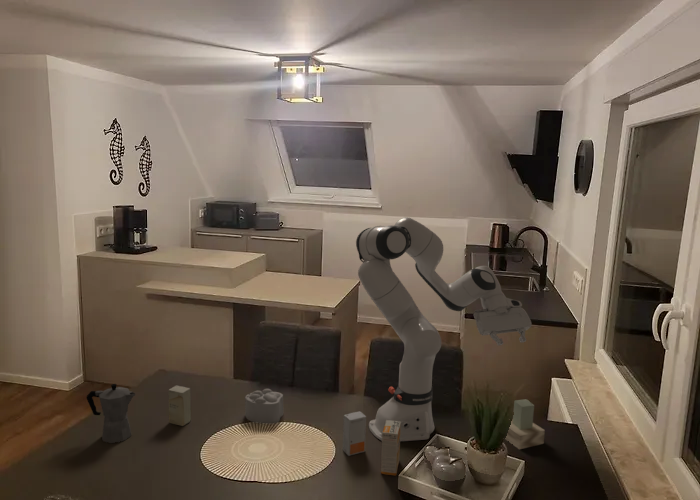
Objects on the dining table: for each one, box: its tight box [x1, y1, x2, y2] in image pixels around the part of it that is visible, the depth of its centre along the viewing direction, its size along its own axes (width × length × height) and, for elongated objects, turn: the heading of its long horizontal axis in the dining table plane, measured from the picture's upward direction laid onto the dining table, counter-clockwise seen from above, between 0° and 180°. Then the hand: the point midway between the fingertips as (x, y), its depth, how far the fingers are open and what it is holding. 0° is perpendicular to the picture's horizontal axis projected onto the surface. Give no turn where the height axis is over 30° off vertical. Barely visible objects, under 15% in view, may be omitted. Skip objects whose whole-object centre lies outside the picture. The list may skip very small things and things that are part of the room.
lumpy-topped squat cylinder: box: [244, 388, 284, 425], centre depth 189 cm, size 10×13×9 cm
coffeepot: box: [86, 383, 136, 444], centre depth 173 cm, size 15×9×18 cm, turn 92°
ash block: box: [504, 418, 546, 450], centre depth 177 cm, size 10×10×5 cm
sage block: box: [512, 399, 535, 430], centre depth 176 cm, size 4×4×8 cm
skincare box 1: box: [168, 384, 192, 427], centre depth 184 cm, size 6×4×12 cm
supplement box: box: [380, 420, 401, 476], centre depth 158 cm, size 8×5×13 cm, turn 168°
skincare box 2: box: [342, 410, 367, 457], centre depth 167 cm, size 6×4×12 cm
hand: (512, 343), depth 183 cm, fingers open, 8 cm apart
